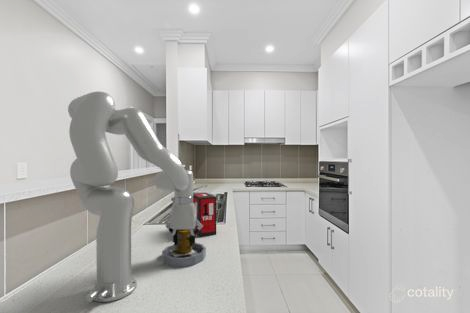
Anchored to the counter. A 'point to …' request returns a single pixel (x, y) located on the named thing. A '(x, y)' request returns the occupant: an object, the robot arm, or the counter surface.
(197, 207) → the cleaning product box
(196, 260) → the round tray
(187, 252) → the condiment
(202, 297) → the counter surface
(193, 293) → the counter surface
